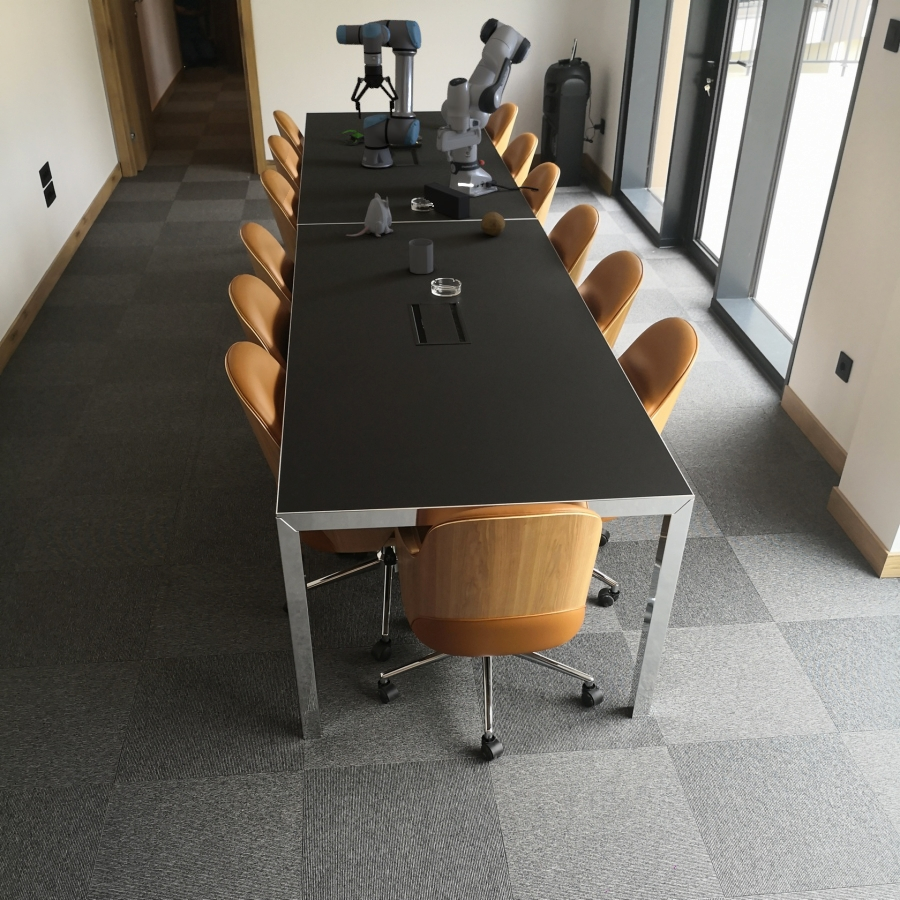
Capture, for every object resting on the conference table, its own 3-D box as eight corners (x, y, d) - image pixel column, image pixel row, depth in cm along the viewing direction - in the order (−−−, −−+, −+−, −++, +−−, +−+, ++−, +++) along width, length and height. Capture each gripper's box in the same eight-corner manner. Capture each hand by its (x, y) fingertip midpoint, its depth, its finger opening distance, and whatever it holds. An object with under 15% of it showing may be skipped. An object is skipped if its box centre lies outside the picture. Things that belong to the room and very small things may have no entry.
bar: (424, 205, 372) (423, 184, 367) (435, 203, 375) (434, 182, 370) (458, 219, 356) (458, 197, 351) (469, 216, 359) (469, 195, 354)
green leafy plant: (396, 126, 467) (340, 124, 465) (396, 141, 460) (339, 139, 458) (396, 136, 472) (341, 134, 470) (396, 151, 465) (340, 149, 463)
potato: (502, 228, 347) (503, 208, 342) (507, 239, 335) (507, 219, 331) (478, 228, 346) (478, 208, 342) (481, 240, 334) (482, 219, 330)
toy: (398, 232, 342) (397, 194, 334) (353, 246, 328) (351, 207, 320) (383, 227, 348) (381, 189, 340) (338, 241, 333) (335, 202, 325)
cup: (409, 265, 311) (408, 238, 306) (432, 265, 312) (431, 238, 307) (410, 274, 304) (409, 246, 299) (433, 273, 305) (433, 246, 299)
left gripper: (344, 66, 357) (347, 120, 369) (404, 65, 361) (405, 118, 373) (342, 63, 364) (345, 116, 375) (401, 62, 368) (402, 114, 379)
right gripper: (442, 129, 333) (443, 165, 341) (483, 120, 343) (483, 156, 351) (432, 126, 337) (433, 162, 345) (473, 117, 347) (473, 152, 355)
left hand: (375, 117), depth 374 cm, fingers open, 13 cm apart
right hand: (459, 159), depth 348 cm, fingers open, 8 cm apart
